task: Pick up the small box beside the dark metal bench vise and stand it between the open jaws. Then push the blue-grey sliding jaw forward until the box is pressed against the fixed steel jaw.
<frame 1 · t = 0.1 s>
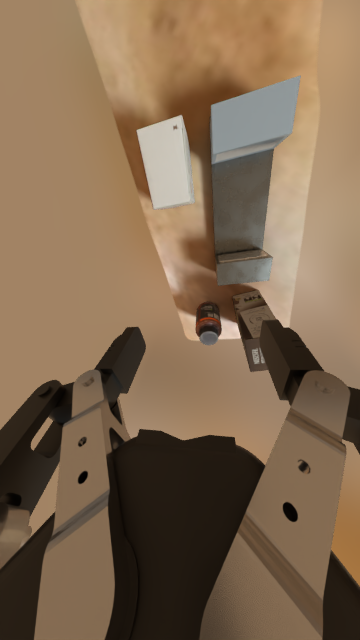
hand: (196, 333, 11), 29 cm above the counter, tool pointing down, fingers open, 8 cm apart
vise bed: (238, 201, 29), on the counter
sliding jaw: (246, 129, 21), point 5 cm above the counter, slide at 0.0 cm
small box: (177, 179, 28), on the counter
coffee box: (246, 307, 41), on the counter
supplement bottle: (207, 310, 43), on the counter
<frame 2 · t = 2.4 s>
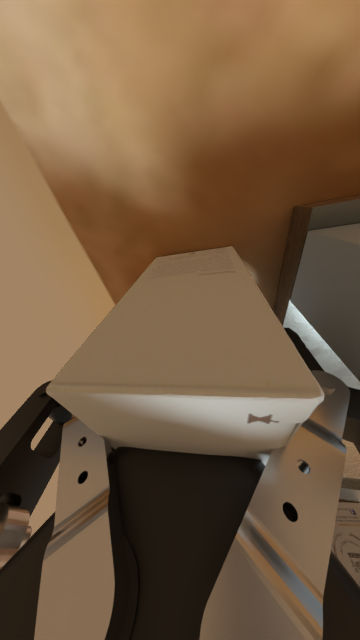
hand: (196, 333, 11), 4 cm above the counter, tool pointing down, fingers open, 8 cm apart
vise bed: (322, 339, 14), on the counter
small box: (198, 298, 14), on the counter
coffee box: (296, 438, 27), on the counter
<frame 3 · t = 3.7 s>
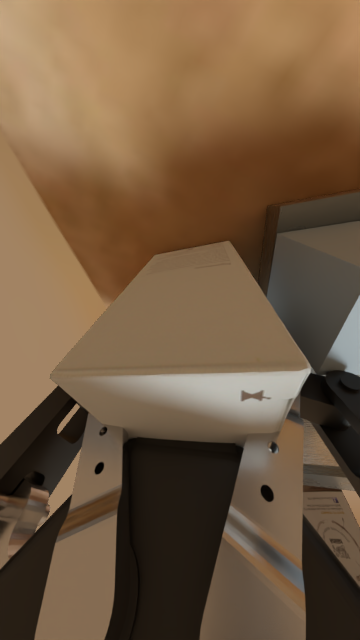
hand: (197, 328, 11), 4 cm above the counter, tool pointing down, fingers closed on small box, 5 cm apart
vise bed: (303, 333, 15), on the counter
small box: (198, 294, 14), on the counter, touching gripper
coffee box: (285, 432, 27), on the counter
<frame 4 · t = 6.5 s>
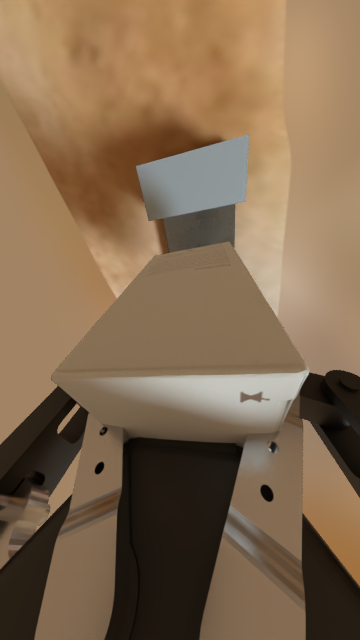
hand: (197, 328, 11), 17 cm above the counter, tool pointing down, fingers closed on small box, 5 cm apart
vise bed: (201, 253, 24), on the counter
sliding jaw: (193, 187, 16), point 5 cm above the counter, slide at 0.0 cm
small box: (198, 295, 14), point 13 cm above the counter, touching gripper
when the fingers open (6 cm above the counter, at t = 9.0 s): small box stays where it is, resting on vise bed.
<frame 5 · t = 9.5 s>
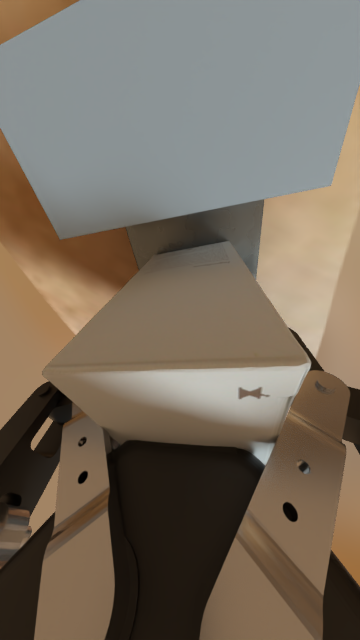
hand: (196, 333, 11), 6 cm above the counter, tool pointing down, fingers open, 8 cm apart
vise bed: (198, 282, 15), on the counter
sliding jaw: (175, 156, 7), point 5 cm above the counter, slide at 0.0 cm
small box: (197, 295, 14), point 2 cm above the counter, touching vise bed
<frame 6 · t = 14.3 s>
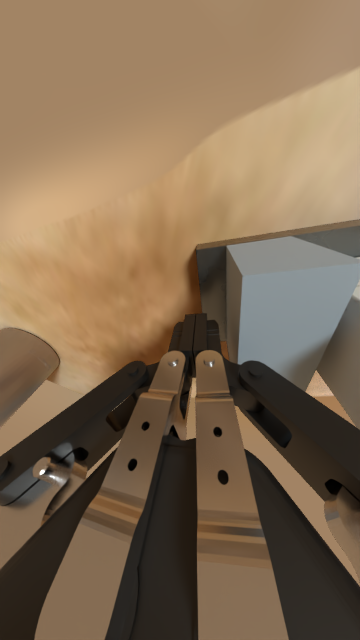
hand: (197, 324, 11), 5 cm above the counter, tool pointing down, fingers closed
vise bed: (325, 282, 13), on the counter
sliding jaw: (261, 321, 11), point 5 cm above the counter, slide at 1.1 cm, touching gripper
small box: (348, 291, 12), point 2 cm above the counter, touching vise bed
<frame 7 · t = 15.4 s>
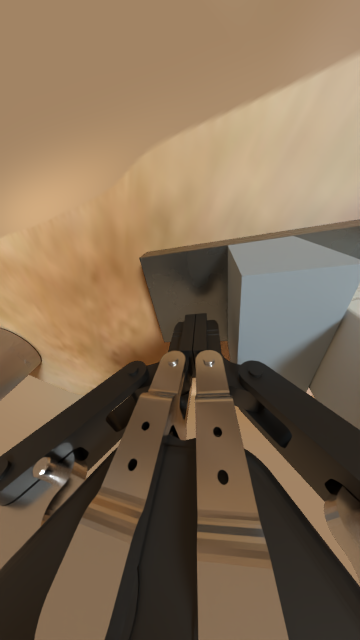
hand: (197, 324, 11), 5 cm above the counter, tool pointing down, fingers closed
vise bed: (269, 288, 14), on the counter
sliding jaw: (262, 322, 11), point 5 cm above the counter, slide at 5.7 cm, touching gripper, small box
small box: (336, 295, 12), point 2 cm above the counter, touching sliding jaw, vise bed
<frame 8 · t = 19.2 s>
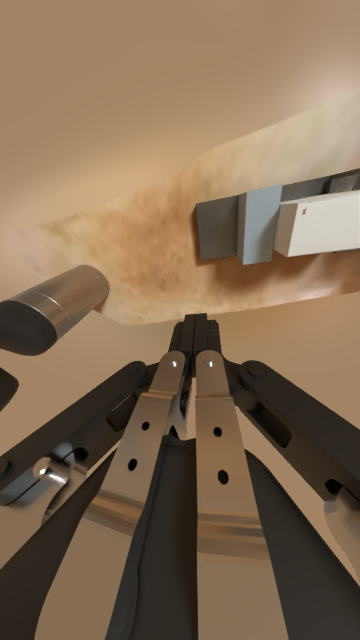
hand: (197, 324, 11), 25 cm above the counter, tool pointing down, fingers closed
vise bed: (258, 222, 28), on the counter
sliding jaw: (254, 227, 24), point 5 cm above the counter, slide at 5.7 cm
small box: (289, 220, 26), point 2 cm above the counter, touching vise bed
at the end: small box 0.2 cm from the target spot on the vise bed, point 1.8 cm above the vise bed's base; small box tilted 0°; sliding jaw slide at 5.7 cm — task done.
